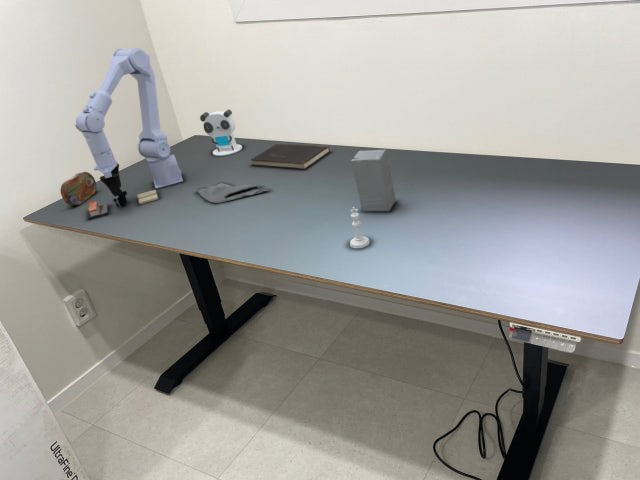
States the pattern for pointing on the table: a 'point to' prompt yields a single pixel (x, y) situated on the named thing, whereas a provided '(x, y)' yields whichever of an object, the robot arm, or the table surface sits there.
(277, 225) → the table surface
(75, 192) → the tin
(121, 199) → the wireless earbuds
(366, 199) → the cosmetic box
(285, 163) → the hardcover book
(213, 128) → the panda figurine
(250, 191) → the cloth
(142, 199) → the napkin
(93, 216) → the sushi plate
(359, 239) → the chess piece
